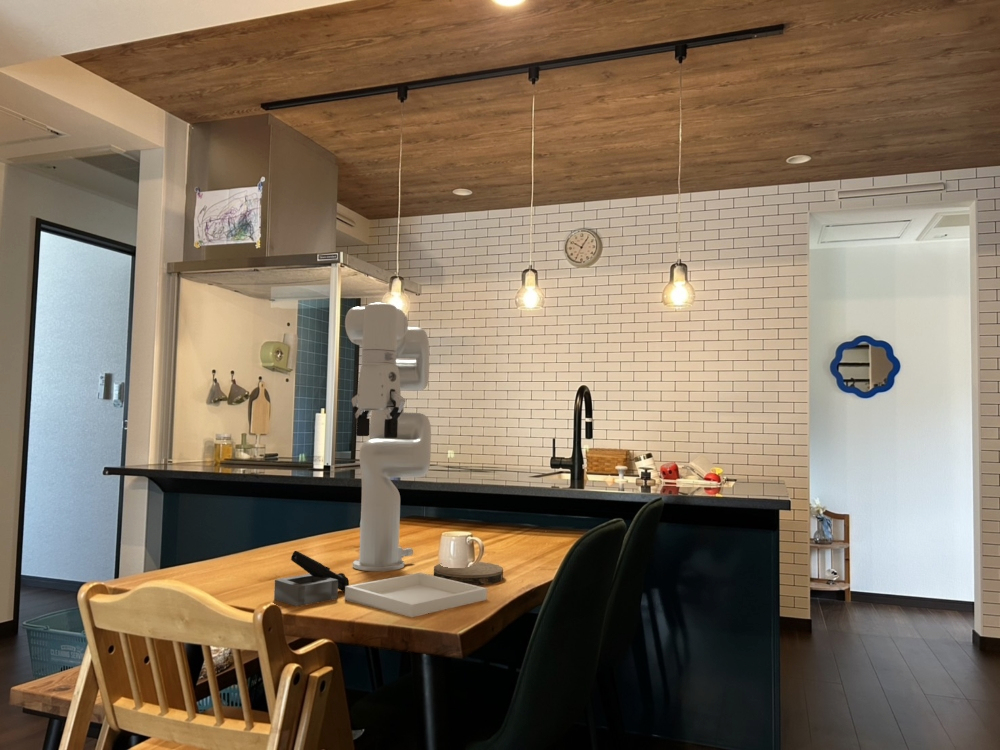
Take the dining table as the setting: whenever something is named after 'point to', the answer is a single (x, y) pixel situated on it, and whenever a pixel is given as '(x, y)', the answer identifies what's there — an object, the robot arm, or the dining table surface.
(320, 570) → the electric trimmer
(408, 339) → the robot arm
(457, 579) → the wooden log coaster
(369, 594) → the tray
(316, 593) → the socket block
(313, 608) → the dining table surface
